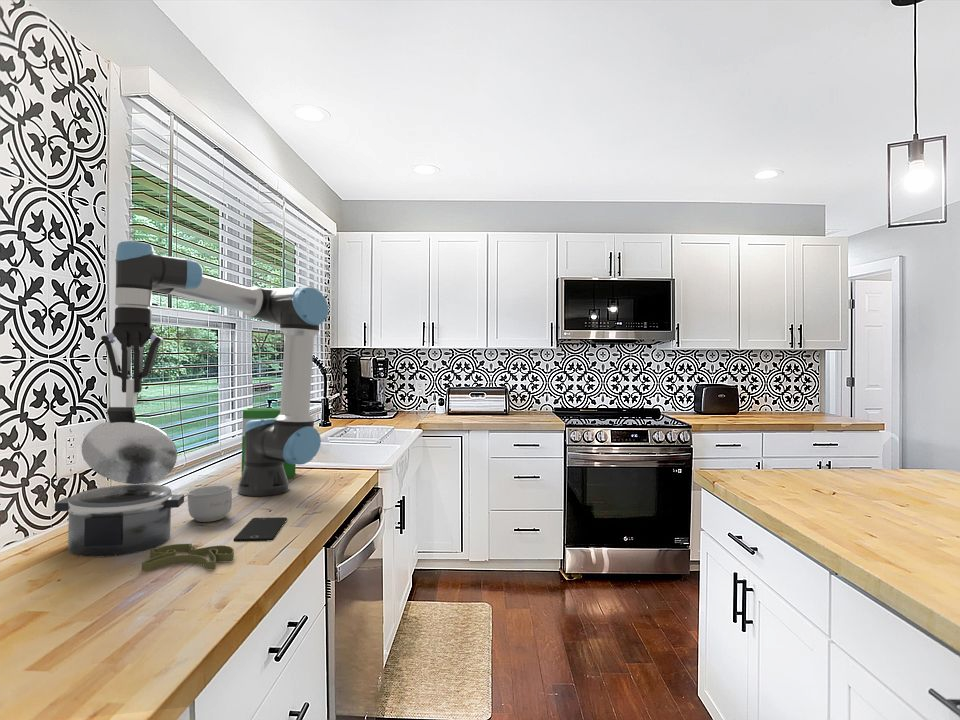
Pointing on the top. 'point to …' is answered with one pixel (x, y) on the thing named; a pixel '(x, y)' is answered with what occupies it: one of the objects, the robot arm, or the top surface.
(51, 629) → the top surface
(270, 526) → the cell phone
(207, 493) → the teacup
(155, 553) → the cookie cutter
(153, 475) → the lid
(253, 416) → the hardback book
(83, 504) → the cooker
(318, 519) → the top surface
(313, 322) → the robot arm
